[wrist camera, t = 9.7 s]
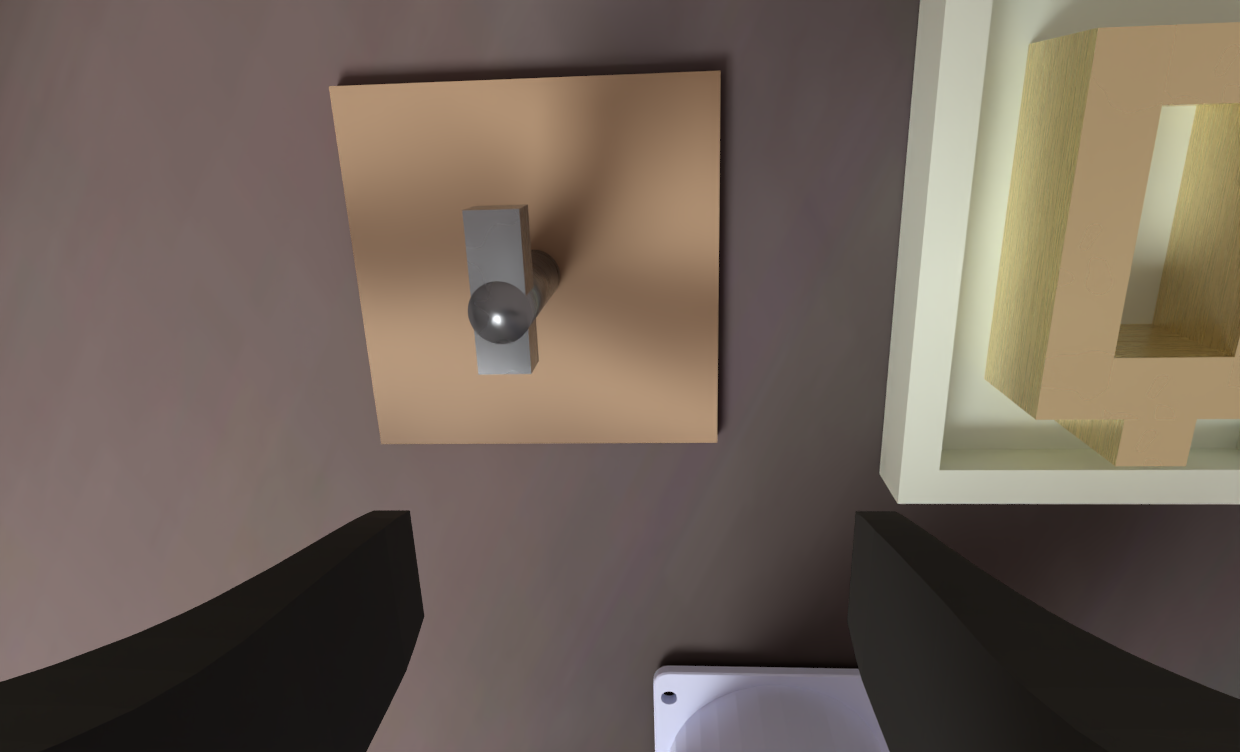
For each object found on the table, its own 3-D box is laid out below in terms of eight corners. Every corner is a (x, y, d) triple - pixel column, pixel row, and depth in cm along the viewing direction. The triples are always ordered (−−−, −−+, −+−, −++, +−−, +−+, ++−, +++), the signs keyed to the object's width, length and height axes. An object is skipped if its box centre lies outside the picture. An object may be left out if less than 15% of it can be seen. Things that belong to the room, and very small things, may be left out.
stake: (562, 324, 21) (535, 374, 16) (513, 325, 21) (473, 374, 16) (555, 191, 19) (524, 208, 15) (502, 193, 19) (457, 210, 15)
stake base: (716, 437, 22) (717, 442, 21) (386, 438, 22) (381, 444, 22) (719, 71, 19) (720, 70, 18) (335, 87, 19) (329, 86, 19)
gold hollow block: (1278, 34, 17) (1399, 15, 14) (1189, 418, 20) (1275, 466, 17) (1028, 44, 17) (1098, 27, 15) (978, 419, 21) (1028, 466, 18)
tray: (1251, 472, 21) (1304, 504, 19) (879, 473, 22) (897, 503, 20) (1403, -110, 16) (1490, -138, 15) (927, -84, 17) (956, -109, 15)
